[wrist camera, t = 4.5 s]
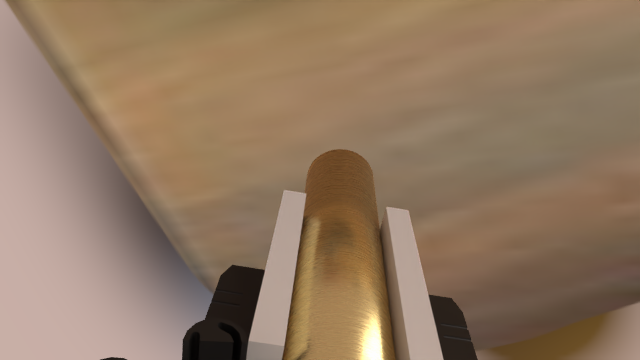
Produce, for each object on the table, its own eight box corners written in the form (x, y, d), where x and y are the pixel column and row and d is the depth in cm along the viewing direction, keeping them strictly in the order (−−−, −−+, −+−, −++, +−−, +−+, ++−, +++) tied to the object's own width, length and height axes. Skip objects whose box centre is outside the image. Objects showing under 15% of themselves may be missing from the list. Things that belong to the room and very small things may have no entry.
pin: (379, 155, 19) (434, 488, 8) (365, 212, 20) (394, 571, 9) (312, 144, 19) (263, 463, 7) (302, 202, 20) (248, 551, 9)
